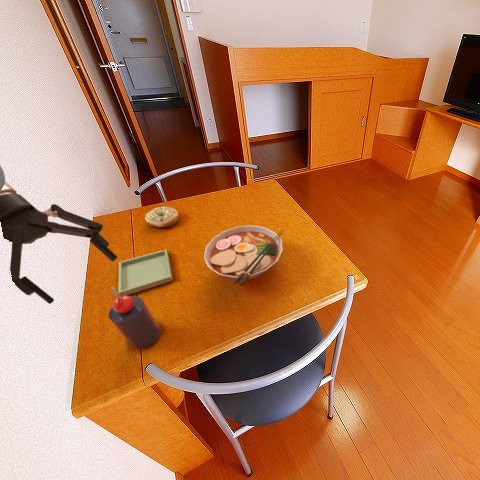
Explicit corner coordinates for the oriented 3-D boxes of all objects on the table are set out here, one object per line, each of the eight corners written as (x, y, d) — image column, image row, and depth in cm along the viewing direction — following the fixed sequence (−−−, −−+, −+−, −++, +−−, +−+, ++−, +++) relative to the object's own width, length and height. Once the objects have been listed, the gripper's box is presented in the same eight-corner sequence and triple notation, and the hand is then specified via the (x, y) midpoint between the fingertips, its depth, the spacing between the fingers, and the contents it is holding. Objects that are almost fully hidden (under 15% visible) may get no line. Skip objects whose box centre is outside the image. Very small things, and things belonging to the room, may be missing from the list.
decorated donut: (163, 233, 97) (159, 224, 95) (141, 224, 100) (137, 216, 98) (185, 217, 104) (182, 209, 102) (164, 210, 108) (161, 202, 105)
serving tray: (121, 297, 76) (118, 292, 75) (121, 266, 84) (118, 262, 83) (172, 280, 81) (171, 276, 80) (168, 253, 90) (166, 249, 88)
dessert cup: (123, 347, 65) (83, 300, 53) (140, 322, 70) (106, 274, 58) (151, 350, 65) (117, 303, 53) (166, 324, 70) (137, 276, 58)
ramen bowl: (241, 233, 99) (237, 214, 93) (298, 252, 92) (297, 233, 87) (190, 281, 81) (181, 261, 76) (256, 308, 74) (252, 289, 69)
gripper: (63, 184, 66) (132, 249, 71) (-88, 246, 49) (19, 326, 54) (64, 169, 61) (139, 240, 66) (-103, 232, 44) (17, 321, 49)
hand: (86, 278), depth 60 cm, fingers open, 13 cm apart
